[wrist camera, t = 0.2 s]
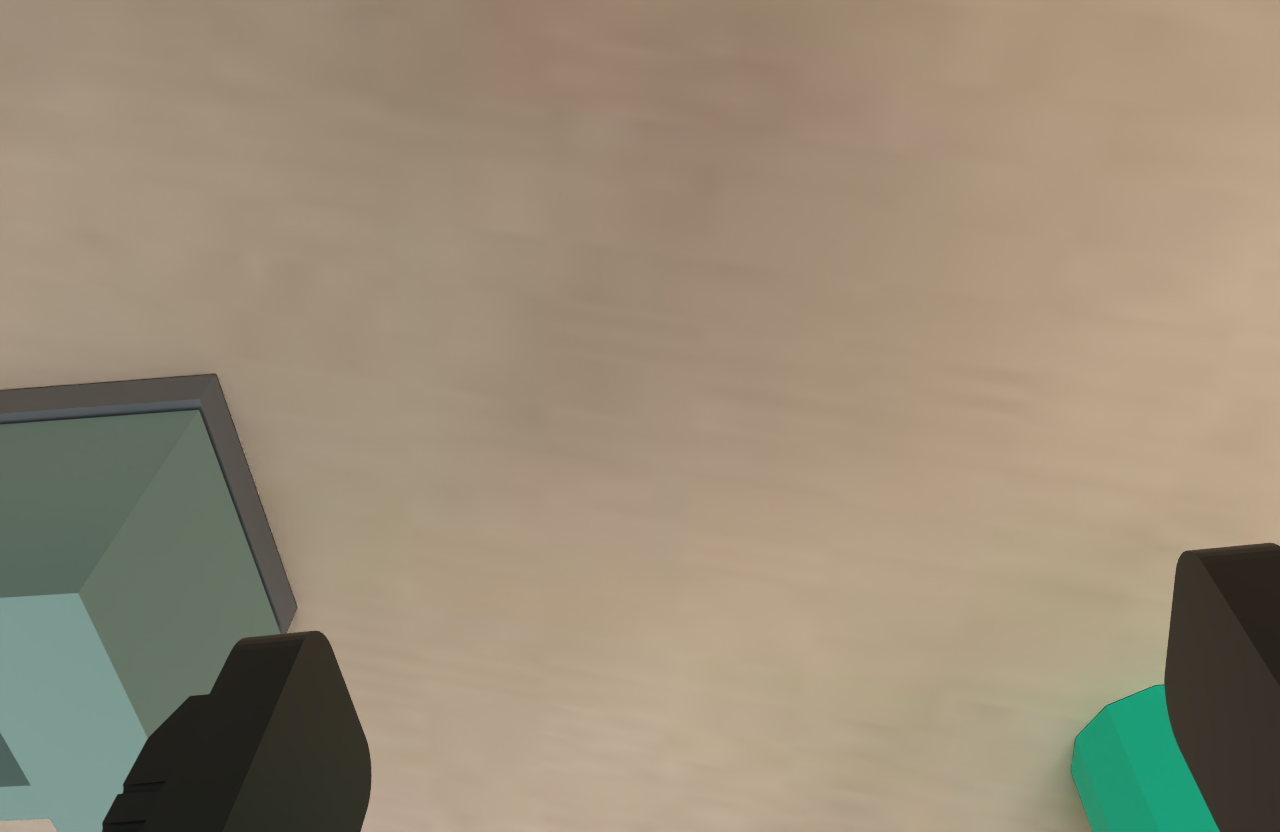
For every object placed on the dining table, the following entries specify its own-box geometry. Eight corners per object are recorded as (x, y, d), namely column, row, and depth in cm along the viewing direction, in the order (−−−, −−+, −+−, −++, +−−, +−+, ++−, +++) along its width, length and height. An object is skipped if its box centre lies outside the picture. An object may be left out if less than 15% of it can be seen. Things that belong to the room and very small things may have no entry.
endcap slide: (-20, 425, 29) (-192, 609, 23) (199, 409, 28) (77, 593, 23) (88, 646, 33) (-36, 849, 27) (281, 635, 32) (196, 839, 27)
